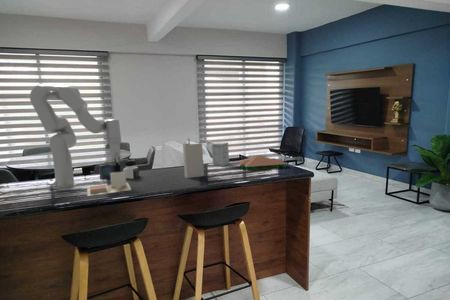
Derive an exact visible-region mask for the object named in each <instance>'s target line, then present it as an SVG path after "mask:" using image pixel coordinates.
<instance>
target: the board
mask: <svg viewBox="0 0 450 300" xmlns="http://www.w3.org/2000/svg"><path fill="white" fill-rule="evenodd" d="M105 185H106V190H107V192H99V193H92V194H90V187H87V193H86V196H87V197H90V196H91V197H92V196H97V195H106V194H112V193H120V192H126V191H132V188H131V186H130V184H129V182H126V185H125V186H117V187H111V184H105Z"/></svg>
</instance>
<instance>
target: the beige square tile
mask: <svg viewBox="0 0 450 300" xmlns="http://www.w3.org/2000/svg"><path fill="white" fill-rule="evenodd" d="M109 179H110V185H111V187H117V186H125V185H126V183H127V178H126V177H125V171H123V170H121V171H119V172H115V171H114V172H112V173H110V178H109Z"/></svg>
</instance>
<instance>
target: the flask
mask: <svg viewBox="0 0 450 300" xmlns="http://www.w3.org/2000/svg"><path fill="white" fill-rule="evenodd" d="M98 171H99V172H98V173H99V179H100V180H104V179H106V180H107V179H111V178H110V173H112V172H115V169H114V163H108V161H106V162H104V164H101V165H98Z"/></svg>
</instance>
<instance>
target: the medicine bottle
mask: <svg viewBox="0 0 450 300" xmlns="http://www.w3.org/2000/svg"><path fill="white" fill-rule="evenodd" d="M122 171H125V177H126V179H131V180H132V179H136V178H138V177H140V171H139V166H136V160H135V159H128V160H127V159H126V161H125V167H124V168H123V169H122Z"/></svg>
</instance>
